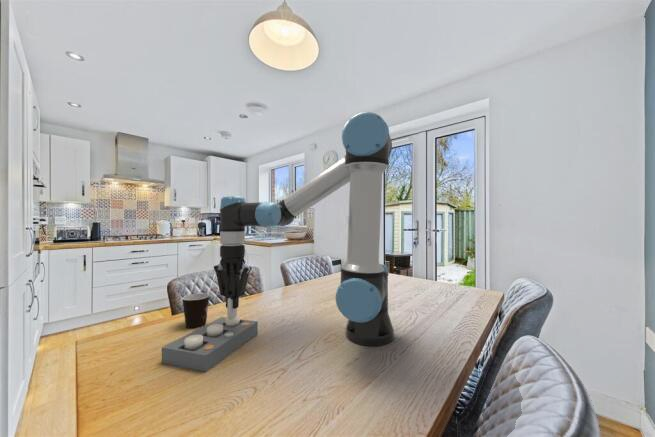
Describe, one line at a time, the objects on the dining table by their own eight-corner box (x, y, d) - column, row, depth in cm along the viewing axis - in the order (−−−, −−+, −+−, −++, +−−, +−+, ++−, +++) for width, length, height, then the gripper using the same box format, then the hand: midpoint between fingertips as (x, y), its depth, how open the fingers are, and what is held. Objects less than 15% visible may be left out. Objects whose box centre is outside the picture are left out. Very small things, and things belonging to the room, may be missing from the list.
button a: (242, 323, 87) (242, 317, 87) (234, 328, 83) (234, 322, 83) (231, 321, 89) (231, 315, 89) (222, 326, 84) (222, 320, 84)
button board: (257, 333, 87) (257, 320, 87) (205, 371, 65) (205, 354, 65) (221, 328, 91) (221, 316, 91) (161, 362, 69) (161, 346, 69)
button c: (206, 343, 72) (206, 335, 72) (194, 350, 68) (194, 343, 68) (193, 341, 73) (193, 333, 73) (180, 348, 69) (180, 340, 69)
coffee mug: (198, 330, 89) (198, 300, 89) (176, 328, 91) (176, 299, 91) (219, 318, 101) (219, 291, 101) (199, 316, 103) (199, 290, 103)
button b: (226, 331, 80) (226, 324, 80) (216, 337, 75) (216, 330, 75) (214, 329, 81) (214, 323, 81) (203, 335, 77) (203, 328, 77)
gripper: (256, 244, 88) (256, 316, 88) (223, 243, 92) (222, 312, 91) (243, 246, 81) (242, 324, 80) (207, 244, 84) (206, 319, 84)
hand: (232, 317), depth 86 cm, fingers closed
